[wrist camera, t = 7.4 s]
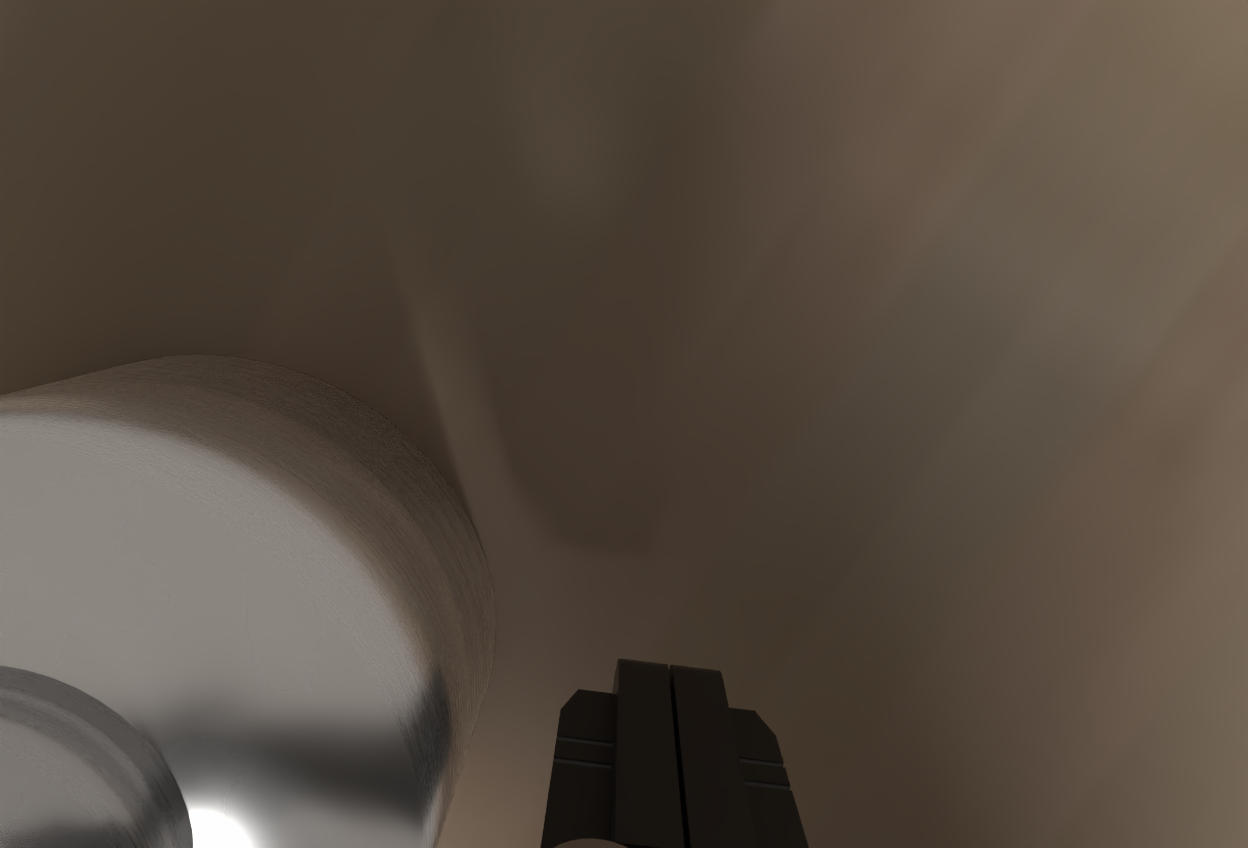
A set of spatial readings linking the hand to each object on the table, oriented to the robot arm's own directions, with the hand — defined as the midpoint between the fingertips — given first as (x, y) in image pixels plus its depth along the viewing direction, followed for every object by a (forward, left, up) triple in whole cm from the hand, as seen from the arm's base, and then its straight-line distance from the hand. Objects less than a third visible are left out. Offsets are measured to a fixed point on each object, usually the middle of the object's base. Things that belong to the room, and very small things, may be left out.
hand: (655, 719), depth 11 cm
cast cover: (+7, 0, -2) cm, 8 cm away
